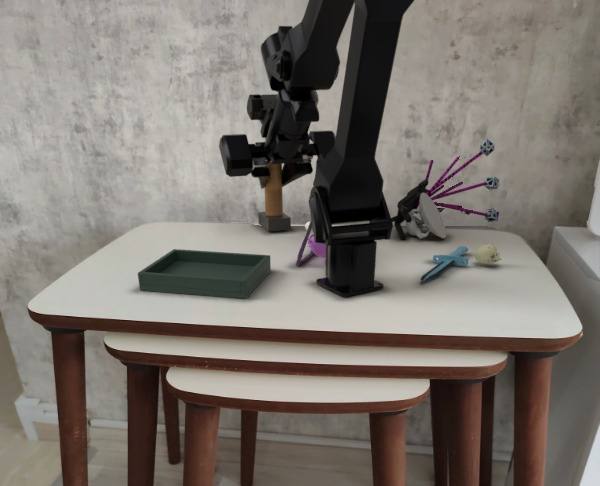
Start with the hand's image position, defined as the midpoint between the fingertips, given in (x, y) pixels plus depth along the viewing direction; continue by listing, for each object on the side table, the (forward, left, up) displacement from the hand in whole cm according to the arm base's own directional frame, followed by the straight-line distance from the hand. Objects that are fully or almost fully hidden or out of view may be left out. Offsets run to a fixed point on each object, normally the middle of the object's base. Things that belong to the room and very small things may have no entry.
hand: (271, 185), depth 103 cm
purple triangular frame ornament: (-21, +4, -7) cm, 23 cm away
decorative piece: (-18, -8, -5) cm, 20 cm away
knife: (-32, -7, -6) cm, 33 cm away
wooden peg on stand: (-1, 0, -7) cm, 7 cm away
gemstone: (-36, -14, -7) cm, 40 cm away
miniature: (-21, -19, -3) cm, 28 cm away
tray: (-21, +22, -7) cm, 31 cm away
